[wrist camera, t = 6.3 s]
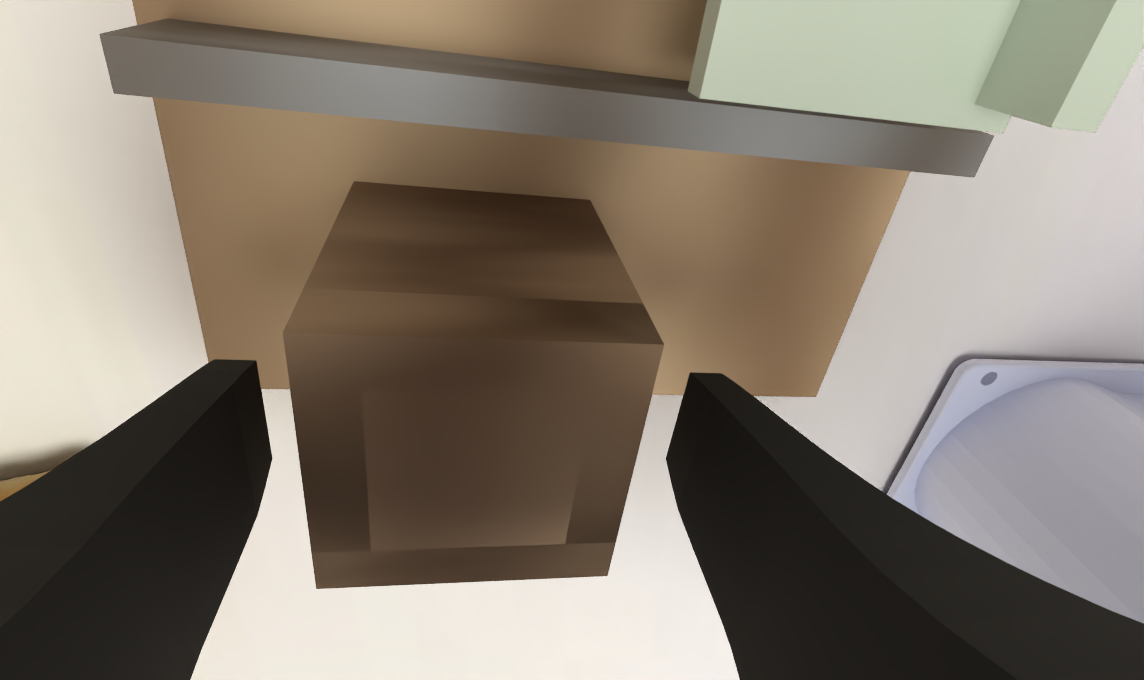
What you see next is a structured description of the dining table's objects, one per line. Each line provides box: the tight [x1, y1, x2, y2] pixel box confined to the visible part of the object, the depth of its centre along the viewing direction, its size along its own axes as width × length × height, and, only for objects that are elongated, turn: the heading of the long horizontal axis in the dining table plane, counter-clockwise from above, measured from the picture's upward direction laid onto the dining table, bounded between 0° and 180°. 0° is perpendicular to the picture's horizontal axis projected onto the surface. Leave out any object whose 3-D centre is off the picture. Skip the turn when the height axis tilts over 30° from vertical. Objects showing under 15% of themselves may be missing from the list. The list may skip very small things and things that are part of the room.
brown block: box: [283, 181, 664, 589], centre depth 12 cm, size 5×5×6 cm
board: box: [100, 0, 994, 397], centre depth 12 cm, size 16×15×3 cm
